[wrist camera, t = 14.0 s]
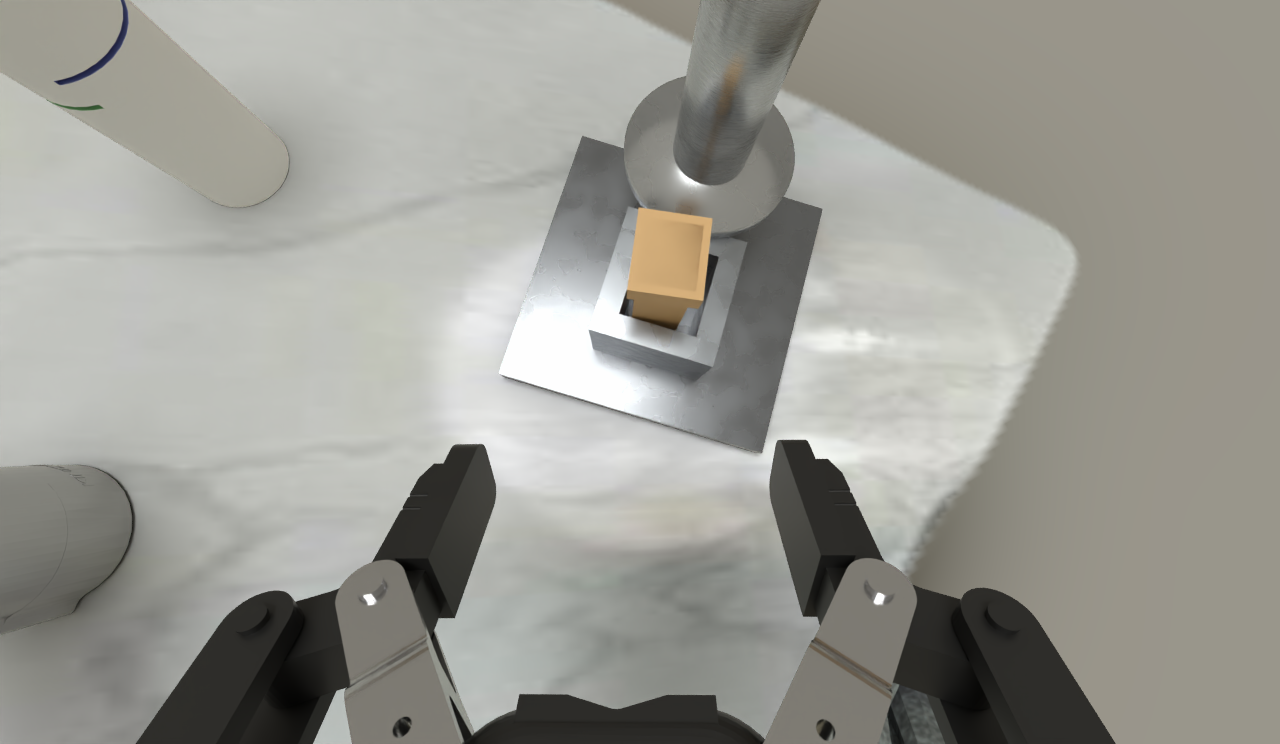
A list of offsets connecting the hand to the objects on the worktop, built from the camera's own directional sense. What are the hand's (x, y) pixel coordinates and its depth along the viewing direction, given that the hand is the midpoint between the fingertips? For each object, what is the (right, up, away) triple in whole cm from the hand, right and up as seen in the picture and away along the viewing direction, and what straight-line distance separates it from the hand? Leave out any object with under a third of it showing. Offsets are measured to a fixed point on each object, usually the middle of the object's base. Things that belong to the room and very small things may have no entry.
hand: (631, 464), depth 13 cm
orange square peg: (+1, +7, +22) cm, 23 cm away
